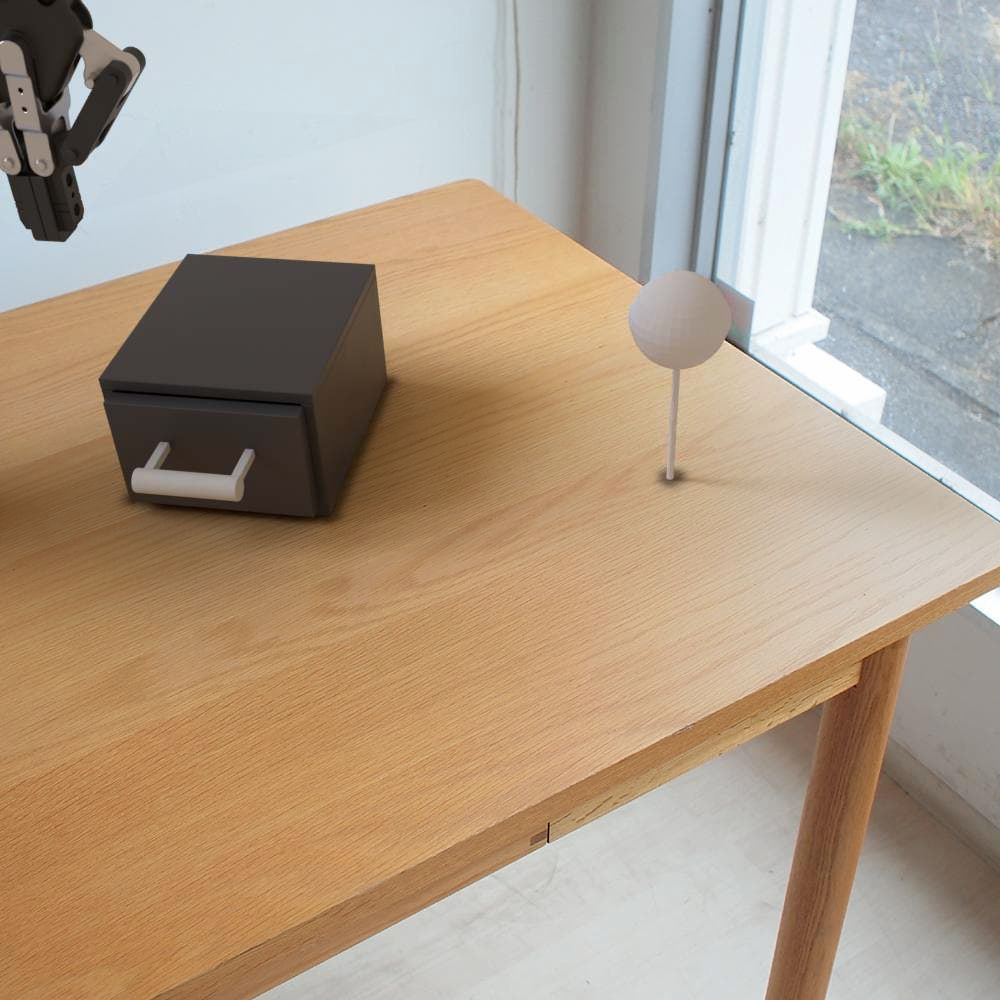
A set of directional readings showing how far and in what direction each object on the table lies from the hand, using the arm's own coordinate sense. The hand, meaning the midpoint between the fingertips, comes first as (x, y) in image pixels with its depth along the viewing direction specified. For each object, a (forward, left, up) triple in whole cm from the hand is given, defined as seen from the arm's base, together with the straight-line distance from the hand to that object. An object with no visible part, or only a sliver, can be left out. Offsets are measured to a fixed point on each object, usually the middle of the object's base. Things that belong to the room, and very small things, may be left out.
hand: (58, 234), depth 67 cm
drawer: (+3, +10, -22) cm, 24 cm away
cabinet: (+3, +14, -23) cm, 27 cm away
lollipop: (+31, +13, -23) cm, 41 cm away
